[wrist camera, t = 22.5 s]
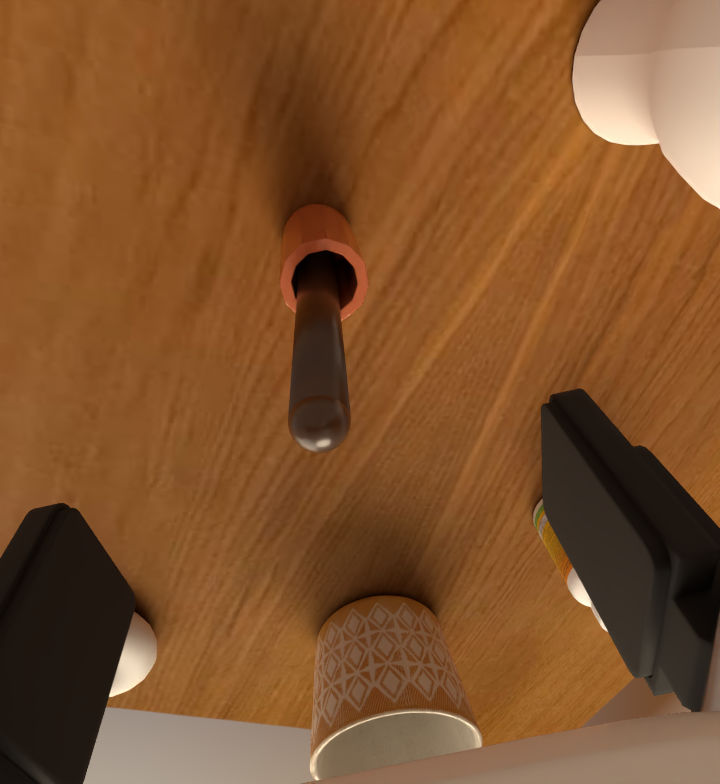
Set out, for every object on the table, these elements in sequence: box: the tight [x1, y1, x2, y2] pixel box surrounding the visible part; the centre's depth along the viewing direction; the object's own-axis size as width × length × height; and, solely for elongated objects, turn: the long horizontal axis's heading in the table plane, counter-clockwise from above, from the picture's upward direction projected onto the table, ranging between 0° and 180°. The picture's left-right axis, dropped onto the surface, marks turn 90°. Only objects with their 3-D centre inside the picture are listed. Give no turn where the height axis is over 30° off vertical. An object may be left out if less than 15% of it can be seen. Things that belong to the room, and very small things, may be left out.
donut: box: [109, 612, 157, 697], centre depth 42 cm, size 10×4×10 cm
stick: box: [288, 250, 351, 453], centre depth 22 cm, size 2×2×17 cm
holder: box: [280, 204, 369, 320], centre depth 26 cm, size 4×4×7 cm
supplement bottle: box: [533, 498, 608, 632], centre depth 38 cm, size 5×5×10 cm
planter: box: [310, 595, 482, 781], centre depth 43 cm, size 13×13×10 cm
